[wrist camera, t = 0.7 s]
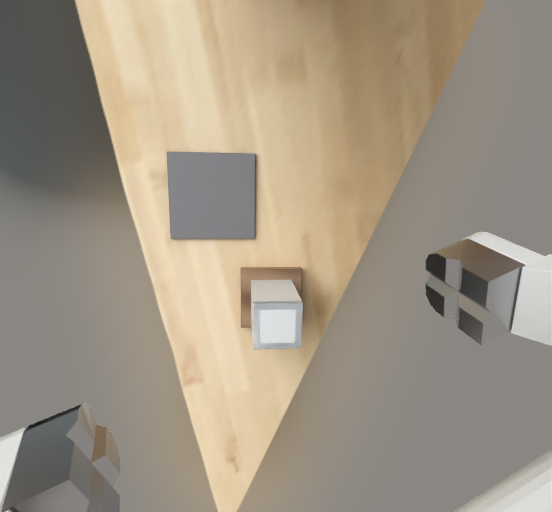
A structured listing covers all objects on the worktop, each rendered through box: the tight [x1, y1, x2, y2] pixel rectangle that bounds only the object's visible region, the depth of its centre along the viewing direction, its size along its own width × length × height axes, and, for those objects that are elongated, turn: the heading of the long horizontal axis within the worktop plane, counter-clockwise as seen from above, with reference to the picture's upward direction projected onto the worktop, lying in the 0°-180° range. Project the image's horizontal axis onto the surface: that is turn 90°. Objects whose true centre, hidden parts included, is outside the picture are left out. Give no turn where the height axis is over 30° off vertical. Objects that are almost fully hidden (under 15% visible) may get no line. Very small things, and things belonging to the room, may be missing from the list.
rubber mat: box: [167, 152, 255, 239], centre depth 51 cm, size 12×12×1 cm
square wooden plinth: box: [241, 267, 302, 328], centre depth 53 cm, size 9×9×6 cm
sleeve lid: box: [251, 280, 303, 350], centre depth 49 cm, size 6×6×10 cm
